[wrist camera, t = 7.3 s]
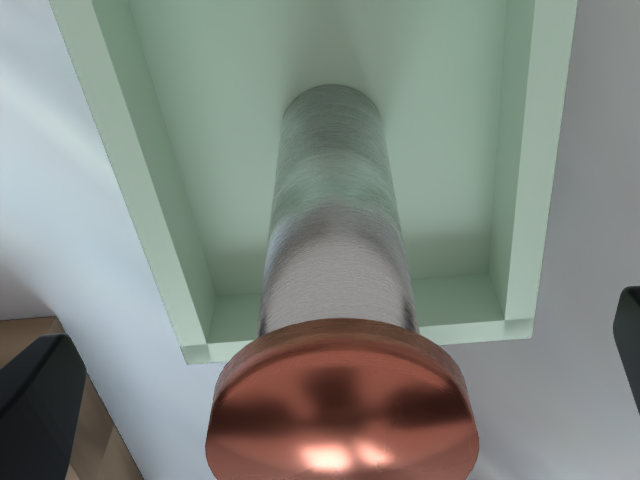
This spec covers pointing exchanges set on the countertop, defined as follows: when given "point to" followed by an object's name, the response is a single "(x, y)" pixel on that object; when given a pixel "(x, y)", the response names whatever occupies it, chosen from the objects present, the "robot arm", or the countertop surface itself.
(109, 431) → the block
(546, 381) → the countertop surface
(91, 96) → the tray
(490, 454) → the countertop surface
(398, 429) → the lock pin
